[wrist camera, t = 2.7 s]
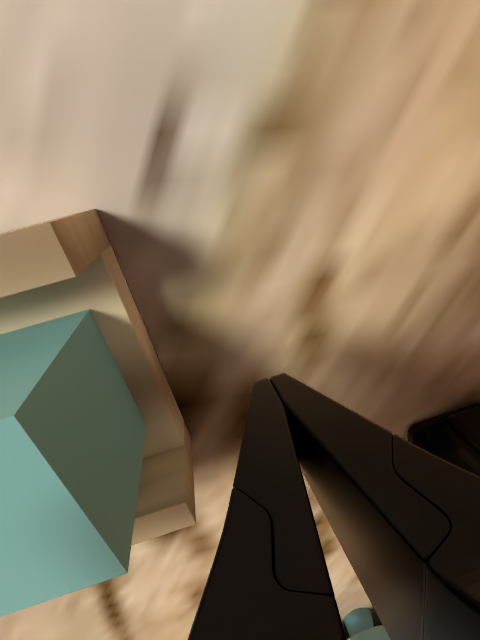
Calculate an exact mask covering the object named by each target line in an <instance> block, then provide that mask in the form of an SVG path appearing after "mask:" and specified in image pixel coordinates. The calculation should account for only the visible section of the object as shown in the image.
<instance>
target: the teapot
mask: <svg viewBox="0 0 480 640" xmlns="http://www.w3.org/2000/svg"><path fill="white" fill-rule="evenodd" d="M344 622H345V625H346V628H347V630H348V633H349V636H350V638H348V639H346V640H390V638H389V636H388V634H387V632H386V630H385V628H384V626H383V625H380V626H376V627H374V624H373V619H372V615H371V610H370V609H369V608H359V609H356V610H353V611H352V612H350V613H349V614H347V615H346V617H345V618H344Z"/></svg>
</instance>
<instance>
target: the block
mask: <svg viewBox="0 0 480 640" xmlns="http://www.w3.org/2000/svg"><path fill="white" fill-rule="evenodd" d="M146 427H147V425H146V423H145V421H144V419H143V417H142V415H141V413H140V411H139V409H138V407H137V405H136V403H135V401H134V399H133V397H132V395H131V393H130V391H129V388H128V386H127V384H126V382H125V380H124V378H123V376H122V374H121V372H120V370H119V368H118V366H117V364H116V362H115V360H114V358H113V356H112V354H111V352H110V350H109V348H108V346H107V344H106V341H105V339H104V337H103V335H102V333H101V331H100V329H99V327H98V325H97V323H96V321H95V319H94V317H93V315H92V313H91V311H90V309H88V310H84V311H81V312H77V313H74V314H70V315H67V316H63V317H60V318H56V319H53V320H49V321H46V322H42V323H39V324H35V325H32V326H28V327H24V328H21V329H17V330H14V331H10V332H7V333H3V334H0V617H1V616H4V615H7V614H10V613H13V612H16V611H19V610H22V609H25V608H28V607H30V606H33V605H36V604H39V603H42V602H45V601H48V600H51V599H54V598H57V597H59V596H62V595H65V594H68V593H71V592H74V591H77V590H80V589H83V588H85V587H88V586H91V585H94V584H97V583H100V582H103V581H106V580H109V579H112V578H114V577H117V576H120V575H123V574H126V573H128V566H129V558H130V550H131V543H132V535H133V527H134V520H135V512H136V504H137V496H138V489H139V481H140V473H141V466H142V458H143V450H144V442H145V435H146Z"/></svg>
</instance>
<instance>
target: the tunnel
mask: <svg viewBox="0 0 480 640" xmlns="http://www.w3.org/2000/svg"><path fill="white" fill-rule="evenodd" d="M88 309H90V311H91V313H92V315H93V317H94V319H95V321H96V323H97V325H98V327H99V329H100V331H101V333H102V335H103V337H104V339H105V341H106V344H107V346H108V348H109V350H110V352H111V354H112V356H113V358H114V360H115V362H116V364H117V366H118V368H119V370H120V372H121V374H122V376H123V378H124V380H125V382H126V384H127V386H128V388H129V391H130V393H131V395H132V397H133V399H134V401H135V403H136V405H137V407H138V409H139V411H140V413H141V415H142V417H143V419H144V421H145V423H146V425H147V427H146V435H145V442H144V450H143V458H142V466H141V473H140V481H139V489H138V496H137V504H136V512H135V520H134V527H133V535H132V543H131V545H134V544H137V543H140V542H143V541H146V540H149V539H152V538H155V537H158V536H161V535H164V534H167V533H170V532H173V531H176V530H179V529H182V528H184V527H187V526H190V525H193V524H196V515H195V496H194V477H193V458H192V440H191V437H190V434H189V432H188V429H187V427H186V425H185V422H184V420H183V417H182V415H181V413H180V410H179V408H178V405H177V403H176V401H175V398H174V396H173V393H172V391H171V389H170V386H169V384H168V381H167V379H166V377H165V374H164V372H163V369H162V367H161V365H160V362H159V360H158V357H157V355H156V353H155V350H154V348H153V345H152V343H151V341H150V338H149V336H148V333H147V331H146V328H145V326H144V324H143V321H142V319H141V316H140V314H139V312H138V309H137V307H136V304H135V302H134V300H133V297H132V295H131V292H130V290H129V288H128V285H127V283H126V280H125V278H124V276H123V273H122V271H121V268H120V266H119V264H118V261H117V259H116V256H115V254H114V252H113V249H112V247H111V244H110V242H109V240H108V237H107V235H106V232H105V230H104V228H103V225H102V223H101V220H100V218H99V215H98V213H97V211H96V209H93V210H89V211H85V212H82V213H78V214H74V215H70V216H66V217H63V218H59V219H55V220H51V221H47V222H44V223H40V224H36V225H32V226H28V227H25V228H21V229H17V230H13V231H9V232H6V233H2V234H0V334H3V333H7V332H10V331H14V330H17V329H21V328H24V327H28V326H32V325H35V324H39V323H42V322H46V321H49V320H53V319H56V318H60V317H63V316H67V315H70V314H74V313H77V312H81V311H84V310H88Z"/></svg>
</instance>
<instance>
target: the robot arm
mask: <svg viewBox="0 0 480 640" xmlns="http://www.w3.org/2000/svg"><path fill="white" fill-rule="evenodd" d="M301 470H302V471H301ZM302 472H303V474H304V476H305V478H306V480H307V481H308V483H309V485H310V487H311V489H312V491H313V493H314V495H315V497H316V499H317V501H318V502H319V504H320V506H321V508H322V510H323V512H324V514H325V516H326V518H327V520H328V522H329V523H330V525H331V527H332V529H333V531H334V533H335V535H336V537H337V539H338V541H339V542H340V544H341V546H342V548H343V550H344V552H345V554H346V556H347V558H348V560H349V562H350V563H351V565H352V567H353V569H354V571H355V573H356V575H357V577H358V579H359V581H360V583H361V584H362V586H363V588H364V590H365V592H366V594H367V596H368V598H369V600H370V602H371V603H372V605H373V607H374V609H375V611H376V613H377V615H378V617H379V619H380V621H381V623H382V624H383V626H384V628H385V630H386V632H387V634H388V636H389V638H390V640H480V403H477V404H474V405H471V406H468V407H465V408H462V409H459V410H456V411H453V412H450V413H447V414H444V415H441V416H438V417H435V418H432V419H429V420H426V421H423V422H420V423H417V424H415V425H413V426H412V427H411V428H410V429H409V430H408V441H406V440H405V439H403V438H401V437H399V436H397V435H392V433H391V432H390V431H388V430H386V429H384V428H383V427H381V426H379V425H377V424H375V423H374V422H372V421H370V420H368V419H366V418H365V417H363V416H361V415H359V414H357V413H356V412H354V411H352V410H350V409H348V408H346V407H345V406H343V405H341V404H339V403H337V402H336V401H334V400H332V399H330V398H328V397H327V396H325V395H323V394H321V393H319V392H318V391H316V390H314V389H312V388H310V387H309V386H307V385H305V384H303V383H301V382H300V381H298V380H296V379H294V378H292V377H291V376H289V375H287V374H285V373H282V374H279V375H276V376H272V377H271V378H270V379H268V378H266V379H263V380H260V381H256V382H255V383H254V385H253V390H252V395H251V400H250V405H249V409H248V414H247V419H246V424H245V429H244V434H243V439H242V444H241V449H240V454H239V459H238V464H237V469H236V474H235V478H234V483H233V489H232V492H231V497H230V502H229V507H228V511H227V515H226V520H225V524H224V528H223V532H222V535H221V539H220V542H219V545H218V549H217V552H216V555H215V558H214V562H213V565H212V568H211V571H210V574H209V577H208V580H207V583H206V586H205V589H204V592H203V595H202V598H201V601H200V604H199V607H198V610H197V613H196V616H195V619H194V622H193V625H192V628H191V631H190V634H189V637H188V640H346V636H345V632H344V629H343V625H342V621H341V618H340V614H339V610H338V607H337V603H336V600H335V596H334V592H333V588H332V584H331V580H330V577H329V573H328V569H327V565H326V562H325V558H324V554H323V550H322V546H321V543H320V539H319V535H318V531H317V528H316V524H315V520H314V516H313V513H312V509H311V505H310V501H309V498H308V494H307V490H306V486H305V483H304V479H303V475H302Z"/></svg>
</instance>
